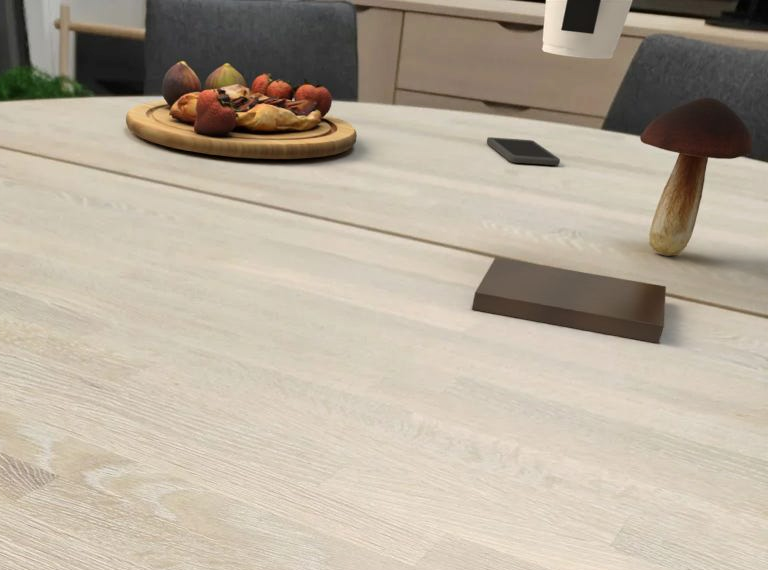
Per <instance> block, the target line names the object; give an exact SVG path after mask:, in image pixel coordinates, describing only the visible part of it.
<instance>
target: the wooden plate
mask: <svg viewBox="0 0 768 570" xmlns="http://www.w3.org/2000/svg"><path fill="white" fill-rule="evenodd" d="M291 83H292V82H291V80H290V79H289V80H285V81H284V80H283V79H277V80H274V79H273V77H272V73H267V72H263V73H262V74H261V75H259V76H258V75H257V77H256V78H255V79H254V80H253V81H252V84H251V88H249V87H247V82H246V80H245V78H244V77H243V75H242V74H241V73H240V72H239V71H237V70H236V69H235V68H234V67H233V66H231V64H230V63H229V62H226V63H223V65H221V66H220V67H218V68H216V69H214V71H212V72H211V73H210V74H209V75H208V76H207V78H206V80H205V82H204V86H203V88H202V84H201V81H200V79H199V77H198V76H197V74H196V73H195V71H194V70H193V69H192V67H190V66H189V65H188V64H187V62H186V61H185V60H181V61H179V62H176V63H175V64H174V65H172V66H171V67H170V68H168V70H167V72H166V73H165V76H164V78H163V80H162V84H161V94H162V97H163V99H164V100H161V101H151V102H147V103H142V104H138V105H135V106H134V107H131V108H130V109H129V110H128V111H127V112H126V116H125V124H126V126H127V128H128V130H129V131H130V132H131V133H133V134H134V135H135V136H137V137H139V138H141V139H142V140H146V141H148V142H151V143H154V144H157V145H160V146H165V147H169V148H172V149H175V150H176V149H177V150H183V151H188V152H193V153H199V154H200V153H201V154H207V155H213V156H222V157H233V158H244V159H245V158H246V159H263V160H265V159H266V160H296V159H311V158H321V157H329V156H335V155H338V154H341V153H344V152H346V151H348V150H350V149H351V148H352V147H354V145H355V144H356V142H357V137H358V134H357V130H356V129H355V127H354V126H353V125H352V124H351V123H349V122H347V121H345V120H343V119H341V118H338V117H335V116H333V115H330V114H328V113H329V112H330V110H331V108H332V104H333V97H332V94H331V92H330V91H329V89H328V88H326V87H325V86H322V84H320V83H318V84H316V85H311V82H310V81H309V79H308V78H305V77H303V84H302V85H300V84H298V83H296V85H295V86H291ZM202 89H203V91H202ZM293 98H294V100H293Z"/></svg>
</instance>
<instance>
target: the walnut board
mask: <svg viewBox="0 0 768 570" xmlns="http://www.w3.org/2000/svg"><path fill="white" fill-rule="evenodd" d="M666 292H667V286H665V285H660V284H654V283H648V282H643V281H638V280H631V279H625V278H620V277H613V276H607V275H601V274H596V273H589V272H584V271H577V270H572V269H566V268H559V267H555V266H549V265H543V264H537V263H530V262H526V261H525V262H524V261H519V260H513V259H507V258H501V257H494V259H493V261H492V262H491V264H490V266H489V268H487V271H486V273H485V275H484V276H483V277H482V279H481V282H480V283H479V285H478V287H477V288H476V289H475V292H474V295H473V301H472V305H471V306H472V307H471V310H473V311H478V312H484V313H489V314H496V315H501V316H506V317H511V318H516V319H523V320H527V321H534V322H540V323H544V324H551V325H555V326H560V327H567V328H572V329H578V330H583V331H589V332H594V333H599V334H605V335H612V336H616V337H622V338H628V339H631V340H632V339H633V340H637V341H638V340H639V341H644V342H650V343H655V344H660V340H661V337H662V334H663V331H664V328H665V317H666V316H665V315H666V314H665V313H666V297H667V293H666Z"/></svg>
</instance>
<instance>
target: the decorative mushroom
mask: <svg viewBox="0 0 768 570" xmlns="http://www.w3.org/2000/svg"><path fill="white" fill-rule="evenodd" d="M639 139H640V142H641V143H642V144H644V145H647V146H648V145H649V146H651V147H654V148H658V149H660V150H664V151H668V152H671V153H672V152H673V153H677V154H678V156H677V159H676V161H675V164H674V166H673V169H672V171H671V173H670V175H669V177H668V179H667V182H666V184H665V186H664V188H663V190H662V194H661V196H660V199H659V201H658V204H657V207H656V209H655V211H654V212H655V213H654V216H653V219H652V222H651V225H650V229H649V233H648V237H649V239H648V240H649V245H650V247H651V248H652V250H653V251H654V252H656V253H657V254H658V255H661V256H671V257H672V256H675V255H676V256H677V255H678V254H680V253H681V252H682V251H684V250H685V249H686V248H687V246H688V244H689V242H690V240H691V238H692V236H693V233H694V229H695V226H696V221H697V217H698V214H699V210H700V205H701V202H702V197H703V191H704V185H705V180H706V171H707V166H708V162H709V159H719V160H734V159H737V158H740V157H743V156H745V155H747V154H752V153H754V144H753V137H752V134H751V132H750V130H749V128H748V126H747V125H746V124H745V122H744V121H743V120H742V118H741V117H740V116H739V115H738V114H737V113H736V112H735V111H734V110H733V109H732V108H731V107H729V106H728V105H727V104H725V103H724V102H722V101H720V100H719V99H716V98H713V97H701V98H697V99H694V100H692V101H691V100H690V101H689V102H686V103H683V104H681V105H677V106H676V107H673V108H671V109H669V110H668V111H665V112H662V114H660V115H658V116H657V117H655V118H654V119H653V120H652V121H651V122H650V123H649V124H648V125H647V126H646V128H645V129H644V130H643V132H642V133H641V135H639Z"/></svg>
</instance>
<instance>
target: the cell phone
mask: <svg viewBox="0 0 768 570" xmlns="http://www.w3.org/2000/svg"><path fill="white" fill-rule="evenodd" d="M486 144H487V145H488V146H490V147H491V148H493V149H494V151H496V152H497V153H498V154H500V155H501V156H502V157H503V158H505V159H506V160H507V161H509V162H511V163H516V164H532V165H533V164H534V165H546V166H547V165H548V166H559V165H560V162H561V159H560V158H559V157H558V156H556V155H555V154H553V152H551V151H549V150H548V149H546V148H545V147H543V146H542V145H540V144H539V143H537V142H536V141H534V140H532V139H519V138H505V137H490V136H489V137H487V138H486Z"/></svg>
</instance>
